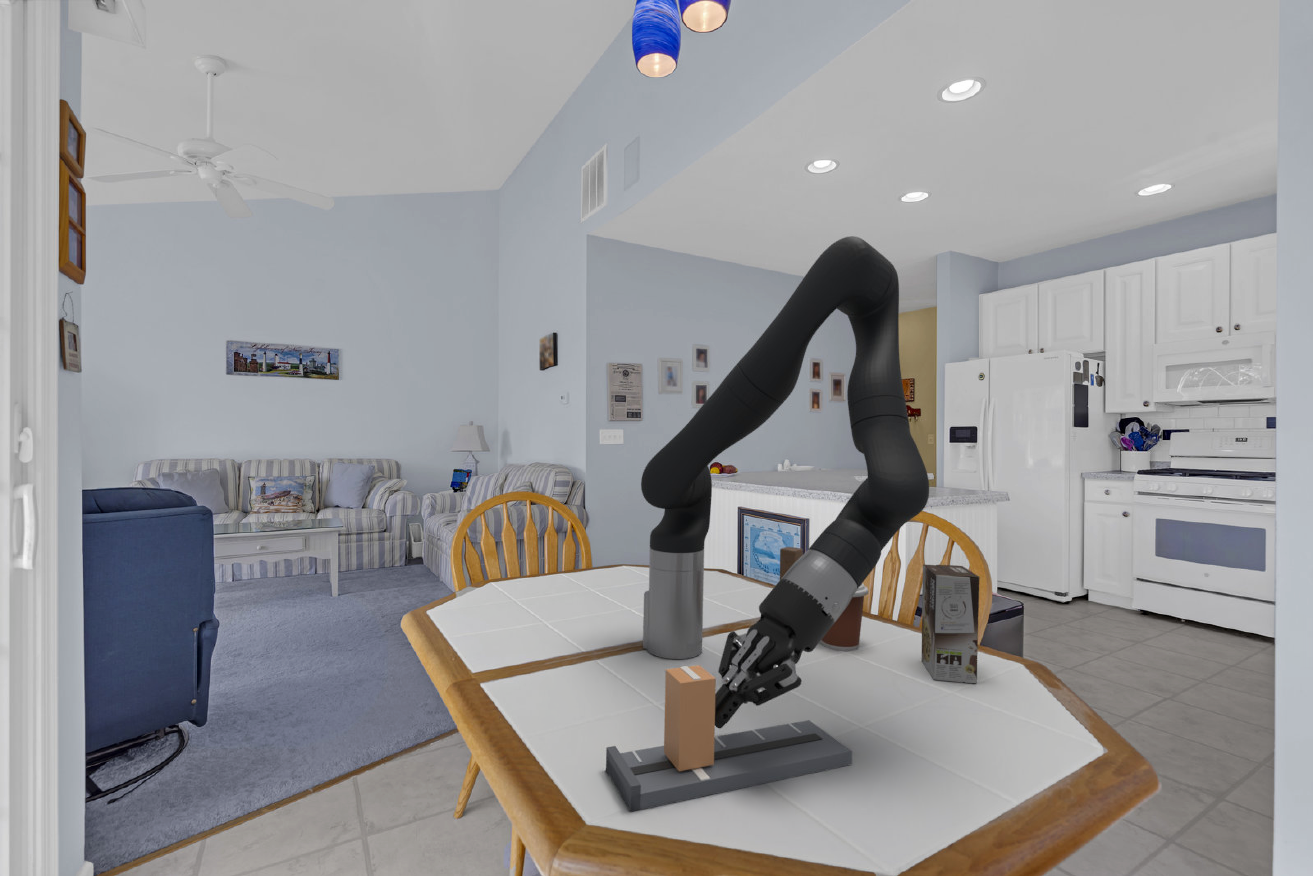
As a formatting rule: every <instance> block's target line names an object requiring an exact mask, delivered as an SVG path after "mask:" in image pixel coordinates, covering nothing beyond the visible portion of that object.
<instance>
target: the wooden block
mask: <svg viewBox="0 0 1313 876" xmlns="http://www.w3.org/2000/svg"><path fill="white" fill-rule="evenodd" d="M779 553H780V554H779V581H780V580H781V578H782V577H783V576H784V575H785V574H786V572H787V571H788V570H789V569H790V568H791V566H792V565H793V564H794V563H795V562H796V561H797V560H798V559H799V558H800V557H801V556H803V555H804V548H800V547H792V546H786V547H781V548H780V549H779Z"/></svg>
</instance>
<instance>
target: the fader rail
mask: <svg viewBox="0 0 1313 876" xmlns="http://www.w3.org/2000/svg"><path fill="white" fill-rule="evenodd" d="M605 749H606V751H605V752H606V753H605V756H606V757H605V770H606V772H607V774H608V776H609V777H610V779H611V781H612V783H613V784H614V786H615V788H616V789H617V791H618V793H619V794H620V796H621V798H622V800H623V801H624V803H625V805H626V806H627V808H628V810H629V812H630V813H631V812H635V811H641V810H645V809H650V808H654V807H659V806H663V805H668V804H673V803H678V802H682V801H687V800H691V799H696V798H697V799H698V798H701V797H705V796H706V797H707V796H711V795H716V794H720V793H725V792H729V791H733V790H739V789H743V788H749V787H752V786H758V785H763V784H767V783H772V782H777V781H781V780H786V779H791V778H795V777H799V776H805V775H809V774H814V773H818V772H823V771H827V770H832V769H838V768H841V767H846V766H851V765H853V751H852V750H851V749H850V748H849V747H847V746H846V745H844V744H843V743H842V742H841V741H839V740H838V739H836V738H835V737H833V735H830V734H829V733H828V732H826V731H825V730H824V729H822V728H820V726H818V725H817V724H815V723H813V722H812V721H811V720H809V719H808V720H803V721H797V722H791V723H790V722H789V723H783V724H779V725H774V726H768V727H761V728H756V729H750V730H744V731H740V732H734V733H728V734H723V735H717V736H714V765H709V766H704V767H699V768H694V769H689V770H683V771H678V770H677V769H676V767H675V766H674V765H673V764H672V762H671V761H670V760H669V758H668V757H667V756H666V755H665V753H664V745H660V746H654V747H650V748H649V747H648V748H644V749H637V750H631V751H625V752H620V751H619V749H618V748H617V746H616V745H612V746H607V747H606V748H605Z"/></svg>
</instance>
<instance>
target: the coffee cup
mask: <svg viewBox="0 0 1313 876" xmlns="http://www.w3.org/2000/svg"><path fill="white" fill-rule="evenodd" d="M868 594H869V589H868V587H867V586H865V584H864V582H863V583H862V584H861V585H860V587H859V588H858V589H857V591H856V592H855V594H854V595H853V597H852V599H851V601H850V603H849V604H848V606H847V607H846V609H845V610H844V611H843V613H842V614H841V615H840V617H839V618H838V619H837V620H836V622H835V623H834V624H833V626H832V627H831V628H830V629H829V631H828V632H827V633H826V635H825V636H824V637H823V638H822V640H821V641H820V642H821V645H823V646H824V647H825V648H828V649H830V650H835V651H844V652H849V651H851V652H852V651H856V650H858V649H859V648H860V641H861V640H860V639H861V630H862V629H861V628H862V620H863V619H862V618H863V612H864V611H863V610H864V601H865V596H867V595H868Z"/></svg>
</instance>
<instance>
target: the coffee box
mask: <svg viewBox="0 0 1313 876" xmlns="http://www.w3.org/2000/svg"><path fill="white" fill-rule="evenodd" d="M980 578H981V577H980V576H979V575H977V574H976V573H974V572H972V571H971V570H969V569H968V568H966V567H964V566H963V565H954V564H953V565H951V564H924V563H923V565H922V588H921V589H922V593H921V594H922V595H921V596H922V598H921V601H922V602H921V604H922V605H921V606H922V608H921V662H922V663H923V665H924V666H925V668H926V670H927V671H928V672H929V674H930V676H931V677H932V678H933V680H936V681H945V682H947V681H948V682H956V683H963V682H965V684H972V683H976V684H977V682H978V681H977V680H978V676H977V675H978V648H979V647H978V645H979V643H978V642H979V614H980V613H979V612H980V610H979V607H980V605H979V604H980Z"/></svg>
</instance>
